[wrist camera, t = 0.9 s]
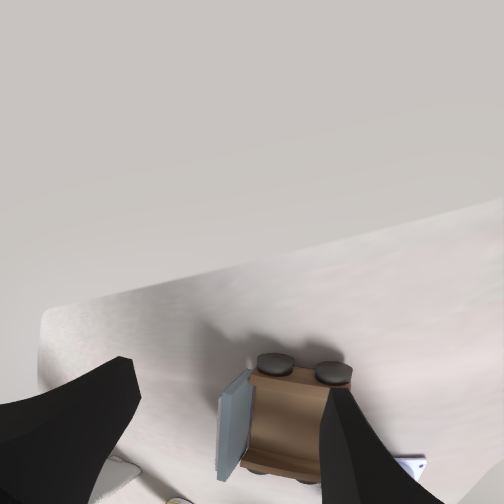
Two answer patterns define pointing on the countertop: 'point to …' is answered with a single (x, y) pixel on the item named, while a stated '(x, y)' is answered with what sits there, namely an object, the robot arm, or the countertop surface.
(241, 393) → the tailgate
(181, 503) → the supplement bottle
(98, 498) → the tall pale column
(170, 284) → the countertop surface
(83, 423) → the robot arm
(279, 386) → the cart bed
